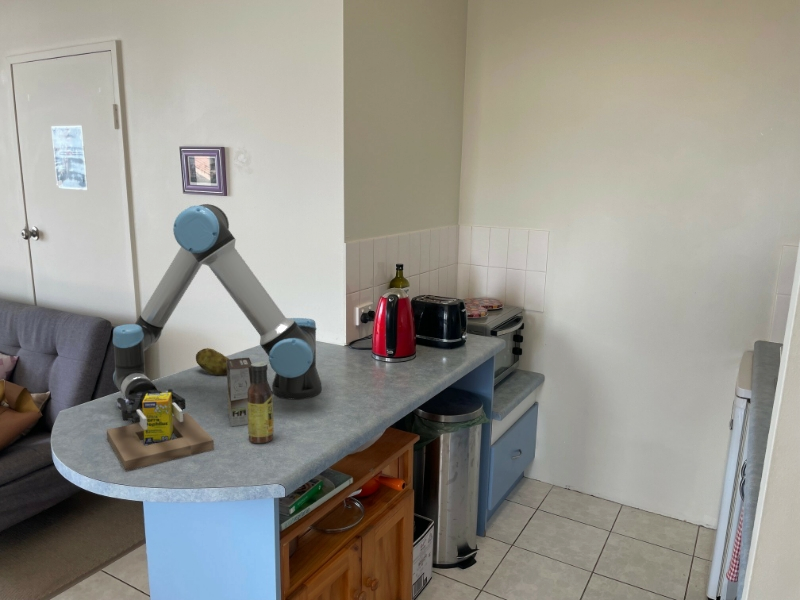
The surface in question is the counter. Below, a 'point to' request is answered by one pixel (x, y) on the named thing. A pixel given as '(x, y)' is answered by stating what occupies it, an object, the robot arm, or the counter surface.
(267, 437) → the sauce bottle
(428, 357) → the counter surface
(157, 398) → the supplement box
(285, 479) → the counter surface
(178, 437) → the socket board
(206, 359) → the potato
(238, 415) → the coffee box
